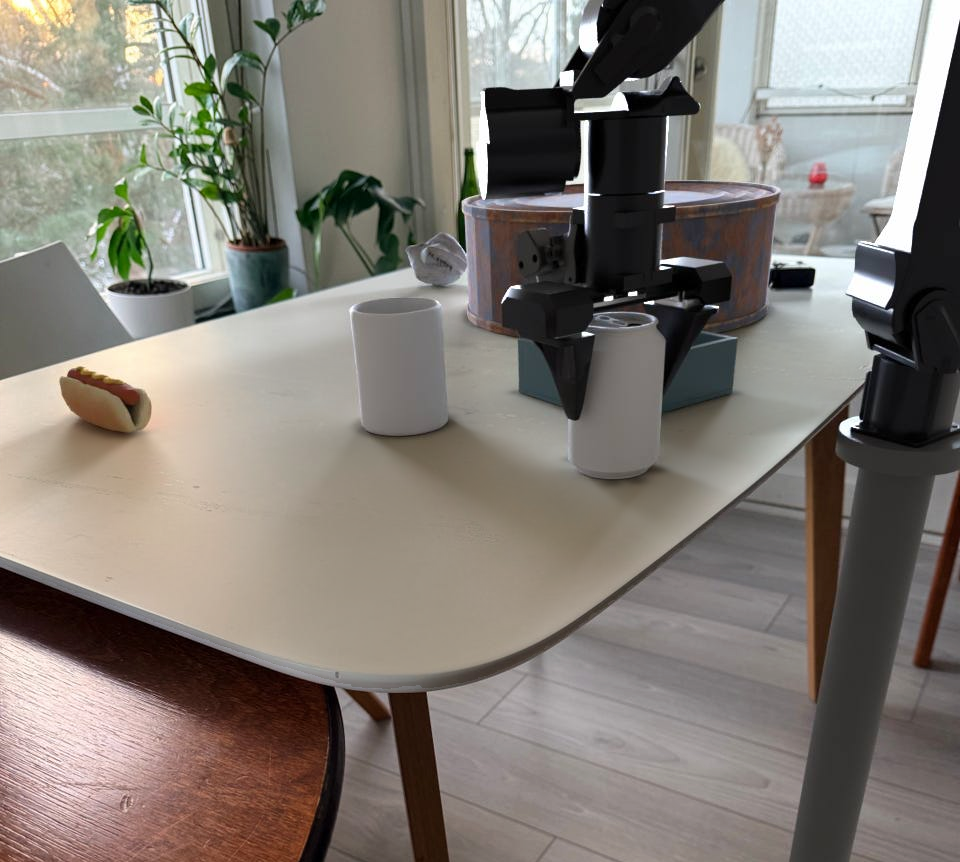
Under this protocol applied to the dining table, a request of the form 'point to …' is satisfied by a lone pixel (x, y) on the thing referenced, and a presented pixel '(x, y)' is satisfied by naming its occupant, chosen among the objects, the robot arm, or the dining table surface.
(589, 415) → the can
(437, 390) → the mug
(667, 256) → the container
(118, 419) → the food
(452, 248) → the crumpled paper ball
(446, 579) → the dining table surface
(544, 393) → the box
